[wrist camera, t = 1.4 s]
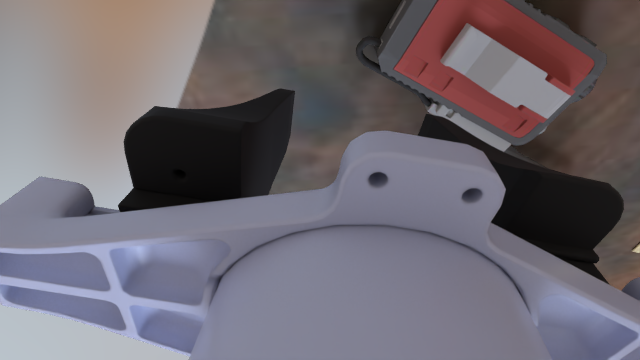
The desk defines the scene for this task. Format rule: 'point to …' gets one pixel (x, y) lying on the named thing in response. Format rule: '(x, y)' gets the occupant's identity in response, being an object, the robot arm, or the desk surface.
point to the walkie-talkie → (487, 65)
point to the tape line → (636, 249)
